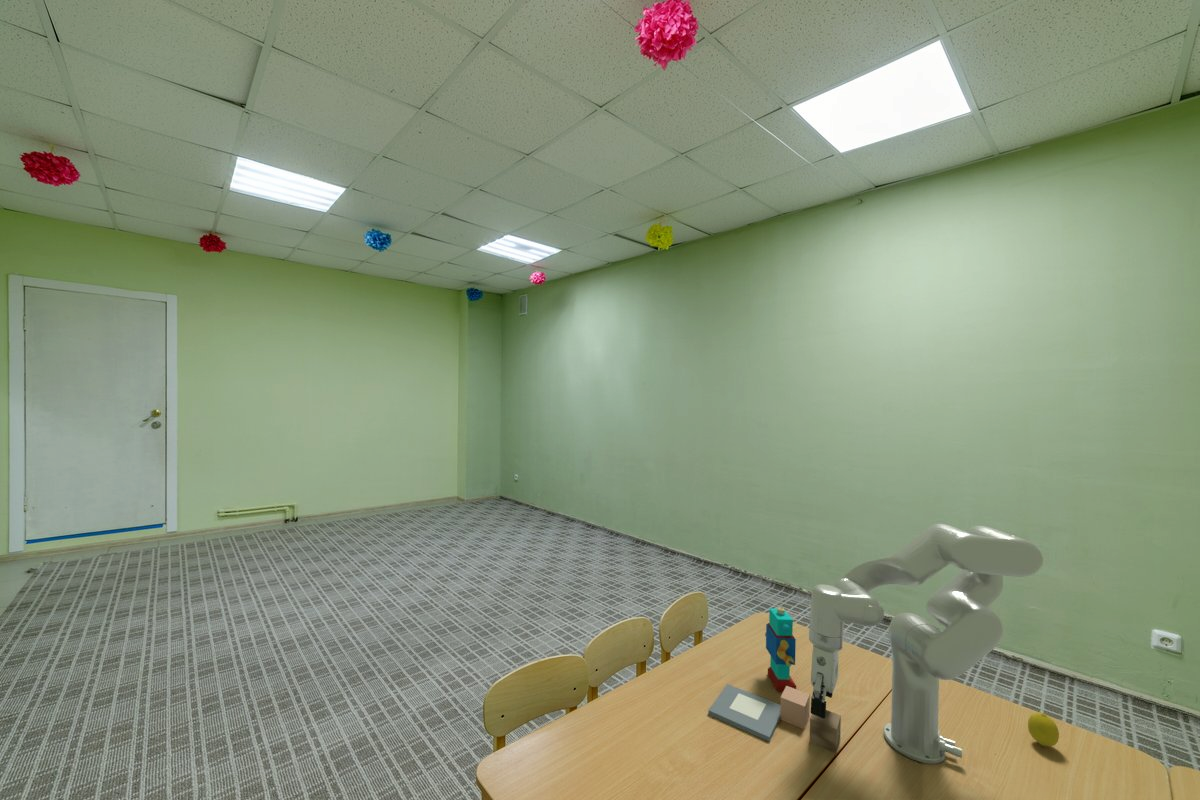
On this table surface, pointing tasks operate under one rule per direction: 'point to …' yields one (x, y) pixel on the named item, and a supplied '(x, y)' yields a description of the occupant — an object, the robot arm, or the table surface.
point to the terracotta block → (795, 707)
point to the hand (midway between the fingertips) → (821, 704)
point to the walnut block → (826, 731)
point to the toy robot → (780, 647)
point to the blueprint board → (746, 712)
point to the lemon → (1043, 729)
